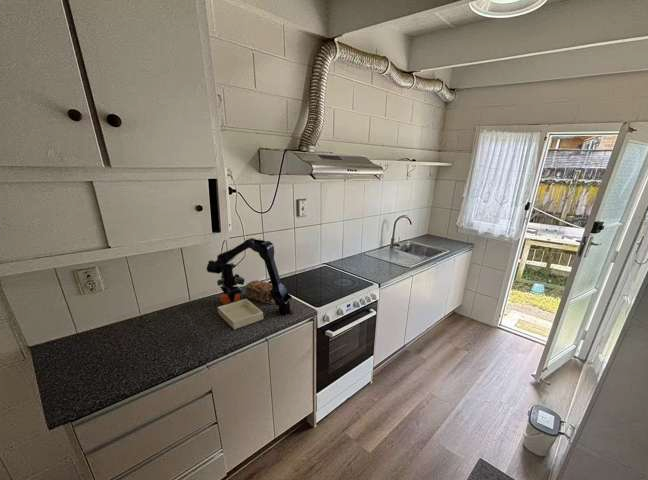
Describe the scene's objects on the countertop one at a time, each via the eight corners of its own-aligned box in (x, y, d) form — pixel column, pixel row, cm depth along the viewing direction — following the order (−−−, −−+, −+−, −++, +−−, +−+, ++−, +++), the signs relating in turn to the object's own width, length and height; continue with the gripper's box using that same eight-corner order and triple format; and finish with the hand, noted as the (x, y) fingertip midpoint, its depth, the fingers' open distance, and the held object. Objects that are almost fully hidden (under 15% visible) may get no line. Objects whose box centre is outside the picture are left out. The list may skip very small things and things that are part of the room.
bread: (245, 298, 175) (244, 283, 171) (257, 292, 184) (256, 277, 180) (271, 305, 169) (270, 290, 165) (283, 298, 178) (282, 283, 174)
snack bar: (240, 299, 169) (239, 293, 168) (224, 304, 163) (223, 297, 162) (237, 297, 172) (236, 291, 170) (221, 301, 166) (220, 295, 164)
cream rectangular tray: (263, 319, 155) (263, 312, 153) (234, 330, 145) (233, 322, 143) (246, 305, 168) (246, 298, 166) (218, 314, 157) (217, 306, 155)
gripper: (249, 276, 160) (252, 302, 167) (234, 266, 172) (237, 290, 179) (228, 281, 153) (232, 308, 159) (215, 270, 165) (218, 295, 171)
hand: (230, 300), depth 167 cm, fingers closed on snack bar, 4 cm apart
